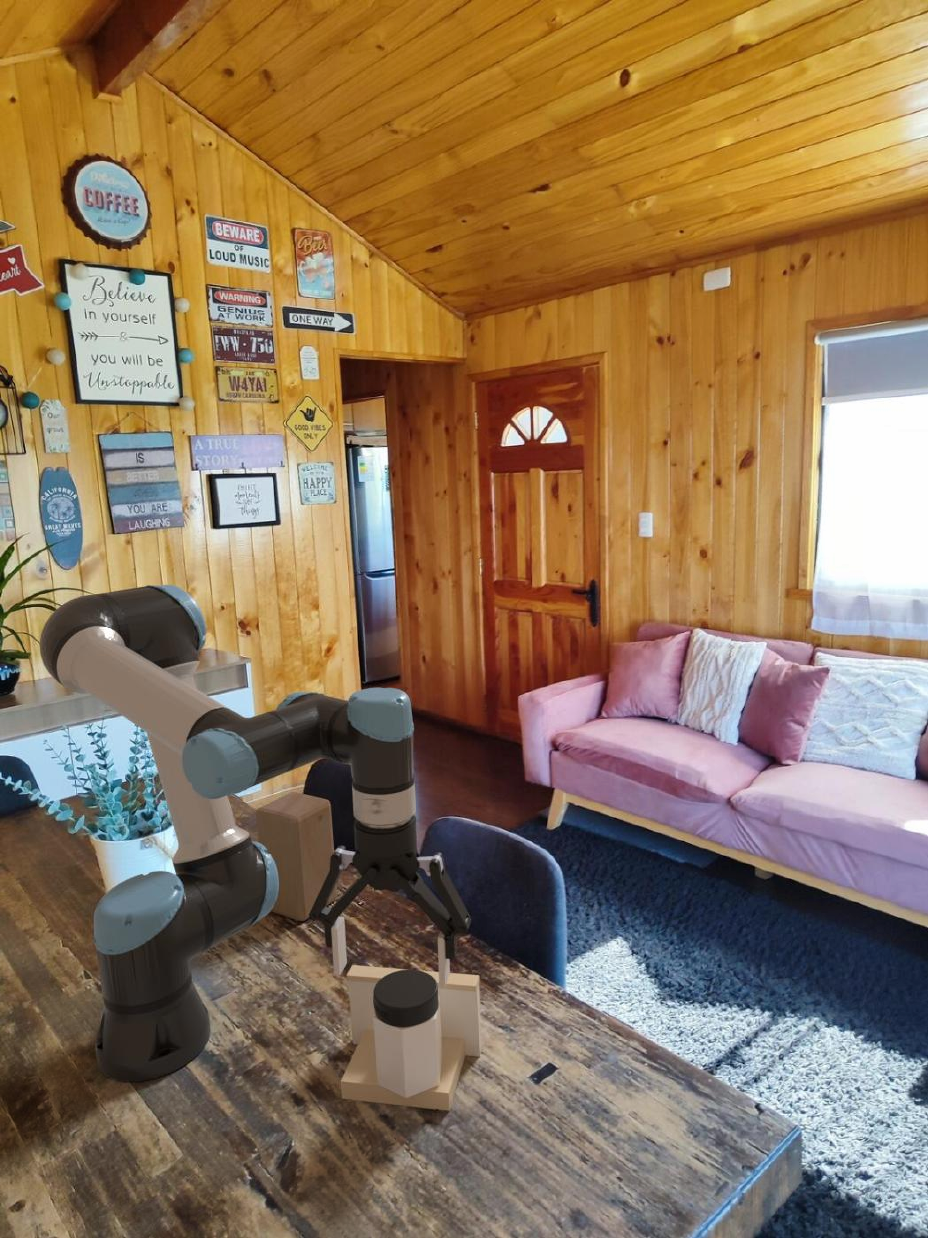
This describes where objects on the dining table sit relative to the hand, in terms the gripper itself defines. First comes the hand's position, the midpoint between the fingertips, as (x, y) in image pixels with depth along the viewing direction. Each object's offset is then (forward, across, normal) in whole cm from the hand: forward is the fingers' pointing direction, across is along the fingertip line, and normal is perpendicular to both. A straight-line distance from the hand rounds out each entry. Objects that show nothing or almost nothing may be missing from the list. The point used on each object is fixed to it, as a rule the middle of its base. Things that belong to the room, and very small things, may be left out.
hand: (391, 974), depth 103 cm
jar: (+14, +2, -1) cm, 14 cm away
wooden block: (+17, -30, +42) cm, 54 cm away
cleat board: (+16, +1, +3) cm, 16 cm away
